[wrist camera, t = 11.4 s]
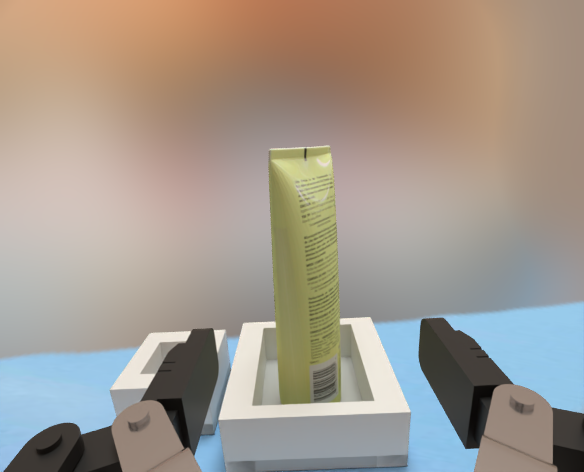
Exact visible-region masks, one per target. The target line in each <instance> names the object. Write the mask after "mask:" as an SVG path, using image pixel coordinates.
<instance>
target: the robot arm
mask: <svg viewBox="0 0 584 472" xmlns="http://www.w3.org/2000/svg"><path fill="white" fill-rule="evenodd" d="M419 362H420V366H421V369H422V371H423V373H424V375H425V377H426V378H427V380H428V382H429V384H430V386H431V387H432V389H433V391H434V393H435V395H436V396H437V398H438V400H439V402H440V404H441V405H442V407H443V409H444V411H445V413H446V414H447V416H448V418H449V420H450V422H451V423H452V425H453V427H454V429H455V431H456V432H457V434H458V436H459V438H460V440H461V441H462V443H463V445H464V447H465V449H474V448H479V452H478V456H477V460H476V465H475V469H474V472H584V414H582V413H577V412H572V411H567V410H561V409H556V408H552V407H551V406H550V404H549V403H548V402H547V401H546V400H545V399H544V398H543V397H542V396H540V395H539V394H537V393H536V392H534V391H532V390H530V389H528V388H525V387H522V386H519V385H514V384H513V383H512V382H511V381H510V379H509V378H508V377H507V376H506V375H505V374H504V373H503V372H502V370H501V369H500V368H499V367H498V366H497V365H496V364H495V363H494V361H493V360H492V359H491V358H489V356H488V355H487V354H486V353H485V351H484V350H482V349H481V347H480V346H479V345H478V344H477V342H476V341H475V340H474V339H473V338H471V337H470V336H468V335H467V334H465V333H463V332H462V331H460V330H458V331H455V330H454V329H453V328H452V327H451V326H450V324H449V323H448V322H447V321H446V320H445V319H444V318H427V319H422V321H421V326H420V340H419ZM218 373H219V362H218V355H217V348H216V341H215V334H214V330H213V329H212V328H209V329H193V330H192V331H191V333H190V335H189V337H188V339H187V341H186V343H178V344H177V345H176V346H175V347H174V348H172V349H171V350H170V351H169V352H168V353H167V355H166V357H165V358H164V360H163V362H162V364H161V366H160V367H159V369H158V372H157V373H156V374H155V376H154V378H153V380H152V381H151V383H150V385H149V387H148V388H147V390H146V392H145V394H144V395H143V397H142V399H141V401H140V402H138V403H135V404H133V405H131V406H129V407H128V408H126V409H125V410H123V411H122V412H121V413H120V414H119V415H118V416H117V417H116V419H115V420H114V422H113V424H112V425H111V426H109V427H106V428H102V429H99V430H96V431H92V432H89V433H86V434H82V435H81V432H80V428H79V427H78V426H77V425H76V424H74V423H61V424H57V425H54V426H51V427H49V428H47V429H45V430H43V431H41V432H40V433H38V434H37V435H35V436H34V437H33V438H32V439H30V440H29V441H28V442H27V443H26V444H25V445H24V447H23V448H22V449H21V450H20V451H19V453H18V454H17V455H16V456H15V458H14V459H13V460H12V462H11V463H10V464H9V465H8V467H7V468H6V469H5V470H4V472H202V471H201V469H200V467H199V465H198V464H197V462H196V460H195V458H194V455H195V452H196V449H197V445H198V442H199V439H200V435H201V432H202V429H203V425H204V422H205V419H206V416H207V412H208V409H209V406H210V402H211V399H212V396H213V392H214V389H215V386H216V383H217V379H218Z"/></svg>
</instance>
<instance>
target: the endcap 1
mask: <svg viewBox="0 0 584 472" xmlns="http://www.w3.org/2000/svg"><path fill="white" fill-rule="evenodd" d="M190 333H191V331H187V332H166V333H150V334H149V335H148V337H147V338H146V340H145V341H144V342H143V344H142V345H141V347H140V348H139V349H138V351H137V352H136V354H135V355H134V356H133V358H132V359H131V361H130V362H129V363H128V365H127V366H126V368H125V369H124V370H123V372H122V373H121V375H120V376H119V377H118V379H117V380H116V382H115V383H114V384H113V386H112V387H111V389H110V393H111V397H112V401H113V404H114V408H115V412H116V416H118V415H119V414H120V413H121V412H122V411H123V410H125V409H126V408H128V407H129V406H131V405H133V404H135V403H138V402H140V401H141V399H142V397H143V395H144V394H145V392H146V390H147V388H148V387H149V385H150V383H151V381H152V380H153V378H154V376H155V374H156V373H157V372H158V369H159V367H160V366H161V364H162V362H163V360H164V358H165V357H166V355H167V353H168V352H169V351H170V350H171V349H172V348H174V347H175V346H176V345H177V344H178V343H186V341H187V339H188V337H189V335H190ZM214 334H215V341H216V348H217V355H218V362H219V373H218V379H217V383H216V386H215V389H214V392H213V396H212V399H211V402H210V406H209V409H208V412H207V416H206V419H205V422H204V425H203V429H202V432H201V435H212V434H214V433H215V430H216V426H217V422H218V418H219V414H220V410H221V406H222V403H223V399H224V395H225V391H226V387H227V383H228V380H229V376H230V372H231V368H230V360H229V352H228V344H227V337H226V330H214Z"/></svg>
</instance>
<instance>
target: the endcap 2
mask: <svg viewBox="0 0 584 472" xmlns="http://www.w3.org/2000/svg"><path fill="white" fill-rule="evenodd" d="M340 347H341V400H340V402H335V403H311V404H286V405H282V404H281V401H280V395H279V379H278V360H277V341H276V322H255V323H243V327H242V331H241V334H240V338H239V342H238V346H237V350H236V354H235V357H234V361H233V365H232V369H231V373H230V377H229V381H228V384H227V388H226V392H225V396H224V400H223V404H222V407H221V411H220V415H219V419H218V421H219V428H220V435H221V441H222V448H223V454H224V461H225V468H226V472H264V471H291V470H318V469H344V468H371V467H398V466H407V459H408V445H409V430H410V416H411V411H410V409H409V407H408V404H407V402H406V400H405V397H404V395H403V393H402V390H401V388H400V386H399V383H398V381H397V379H396V376H395V374H394V372H393V369H392V367H391V364H390V362H389V360H388V357H387V355H386V353H385V350H384V348H383V346H382V343H381V341H380V339H379V336H378V334H377V332H376V329H375V327H374V324H373V322H372V320H371V318H370V317H367V318H346V319H340Z"/></svg>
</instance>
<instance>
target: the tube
mask: <svg viewBox="0 0 584 472" xmlns="http://www.w3.org/2000/svg"><path fill="white" fill-rule="evenodd" d="M334 190H335V189H334V176H333V165H332V157H331V152H330V146H320V147H306V148H281V149H269V192H270V213H271V234H272V257H273V281H274V301H275V322H276V341H277V360H278V379H279V395H280V401H281V404H282V405H286V404H311V403H335V402H340V400H341V347H340V309H339V278H338V251H337V228H336V209H335V191H334Z"/></svg>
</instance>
